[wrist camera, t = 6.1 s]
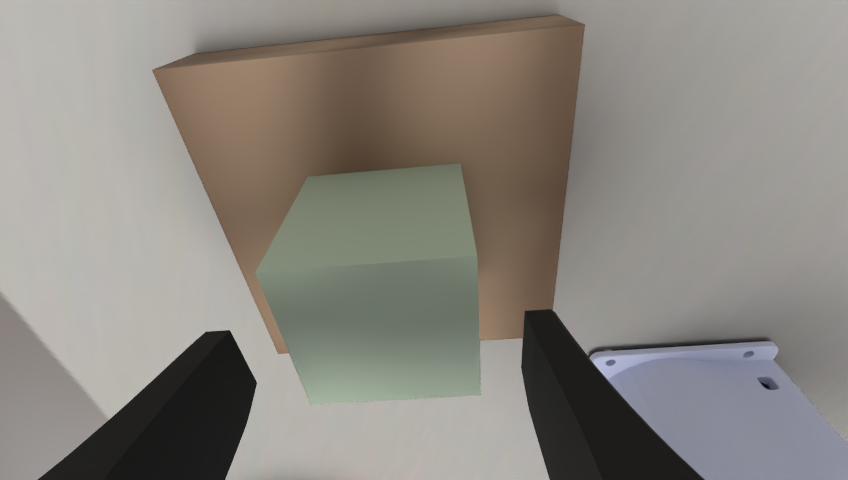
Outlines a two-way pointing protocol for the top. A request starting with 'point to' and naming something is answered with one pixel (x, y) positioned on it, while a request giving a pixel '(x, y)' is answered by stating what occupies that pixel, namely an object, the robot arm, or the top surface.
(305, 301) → the green cube
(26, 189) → the top surface
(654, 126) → the top surface
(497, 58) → the walnut base
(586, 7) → the top surface
